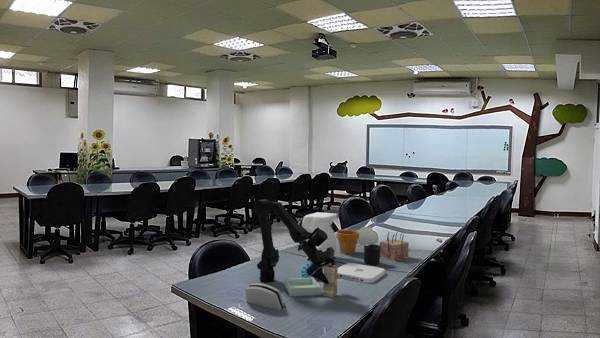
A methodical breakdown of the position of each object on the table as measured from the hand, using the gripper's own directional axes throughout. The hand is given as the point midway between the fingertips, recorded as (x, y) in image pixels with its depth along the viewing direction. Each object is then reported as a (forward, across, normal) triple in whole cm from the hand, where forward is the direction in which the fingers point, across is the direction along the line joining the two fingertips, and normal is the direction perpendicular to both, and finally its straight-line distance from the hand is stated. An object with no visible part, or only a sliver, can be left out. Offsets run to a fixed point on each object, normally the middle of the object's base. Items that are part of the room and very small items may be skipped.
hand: (333, 281), depth 190 cm
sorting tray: (-6, -2, +15) cm, 16 cm away
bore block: (+4, 0, +6) cm, 7 cm away
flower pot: (-17, +76, +26) cm, 82 cm away
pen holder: (-1, +62, +10) cm, 62 cm away
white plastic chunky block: (-23, +52, +32) cm, 65 cm away
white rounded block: (-8, -27, +17) cm, 33 cm away
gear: (-10, +16, +20) cm, 27 cm away
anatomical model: (+3, +83, +6) cm, 83 cm away
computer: (+2, +37, +8) cm, 38 cm away
